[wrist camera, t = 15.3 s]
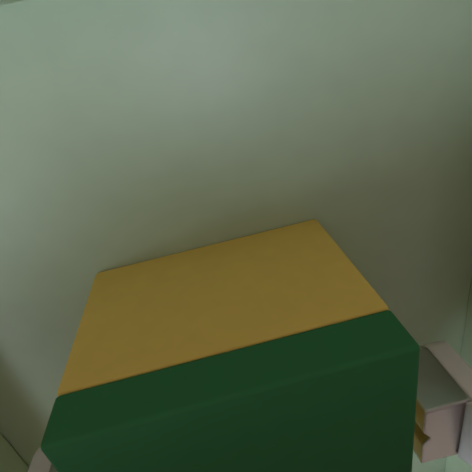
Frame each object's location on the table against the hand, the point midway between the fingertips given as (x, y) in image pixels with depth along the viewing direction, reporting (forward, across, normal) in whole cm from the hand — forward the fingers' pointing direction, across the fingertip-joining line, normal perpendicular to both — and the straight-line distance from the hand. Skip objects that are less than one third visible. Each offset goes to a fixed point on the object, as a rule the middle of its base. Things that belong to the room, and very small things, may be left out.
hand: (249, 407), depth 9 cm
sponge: (+1, 0, 0) cm, 1 cm away
